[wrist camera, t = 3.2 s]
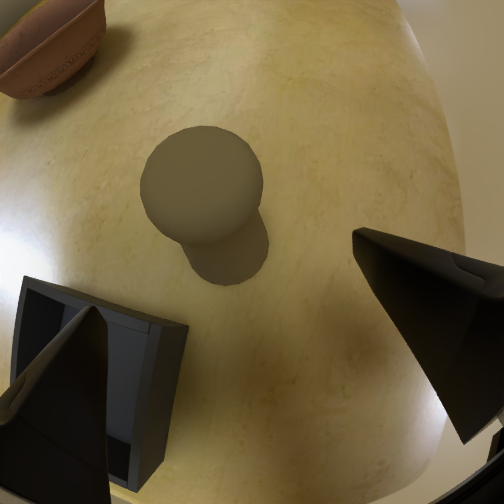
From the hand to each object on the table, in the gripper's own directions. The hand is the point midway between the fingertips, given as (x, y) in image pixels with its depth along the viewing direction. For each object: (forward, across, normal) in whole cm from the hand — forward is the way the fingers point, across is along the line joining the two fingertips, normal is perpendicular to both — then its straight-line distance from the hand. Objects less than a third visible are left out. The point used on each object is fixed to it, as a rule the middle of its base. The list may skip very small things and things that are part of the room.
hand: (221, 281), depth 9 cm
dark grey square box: (+6, +12, +10) cm, 16 cm away
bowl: (+33, +16, -17) cm, 41 cm away
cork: (+11, 0, +5) cm, 12 cm away
